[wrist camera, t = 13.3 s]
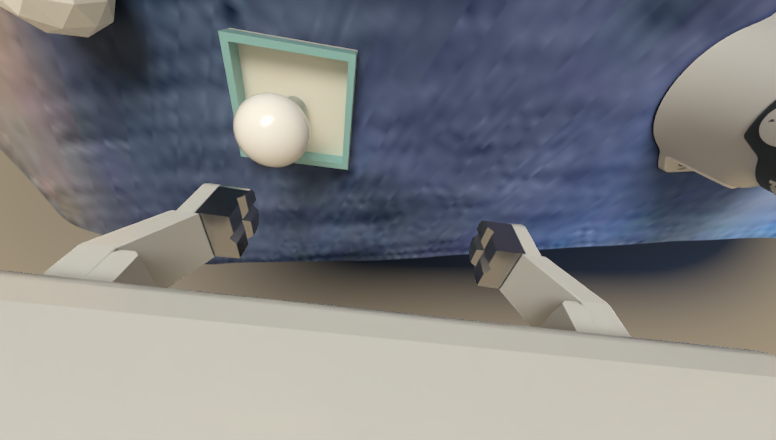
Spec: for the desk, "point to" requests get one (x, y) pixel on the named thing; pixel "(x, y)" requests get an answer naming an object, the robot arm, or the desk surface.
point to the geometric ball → (64, 15)
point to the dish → (297, 86)
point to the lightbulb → (272, 129)
